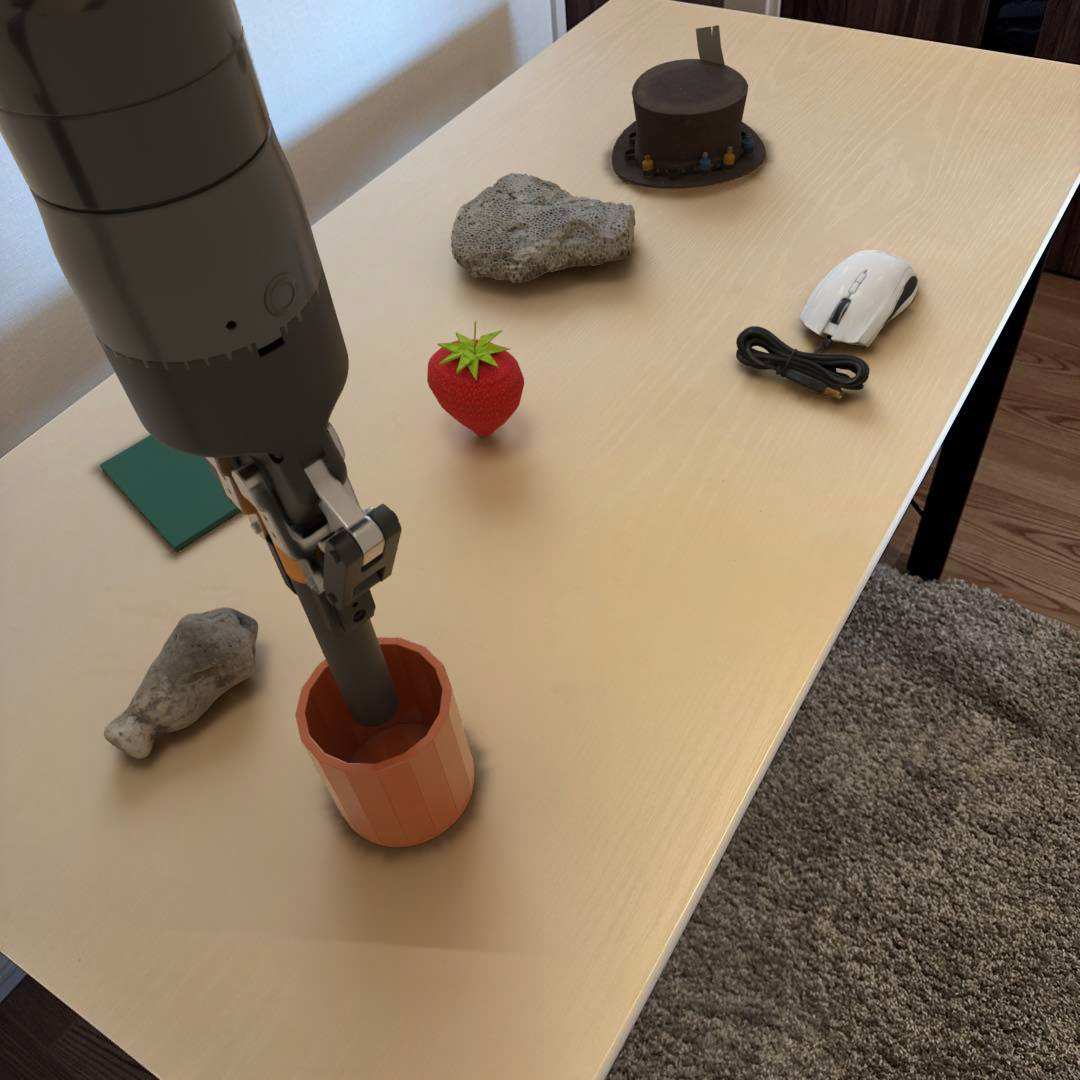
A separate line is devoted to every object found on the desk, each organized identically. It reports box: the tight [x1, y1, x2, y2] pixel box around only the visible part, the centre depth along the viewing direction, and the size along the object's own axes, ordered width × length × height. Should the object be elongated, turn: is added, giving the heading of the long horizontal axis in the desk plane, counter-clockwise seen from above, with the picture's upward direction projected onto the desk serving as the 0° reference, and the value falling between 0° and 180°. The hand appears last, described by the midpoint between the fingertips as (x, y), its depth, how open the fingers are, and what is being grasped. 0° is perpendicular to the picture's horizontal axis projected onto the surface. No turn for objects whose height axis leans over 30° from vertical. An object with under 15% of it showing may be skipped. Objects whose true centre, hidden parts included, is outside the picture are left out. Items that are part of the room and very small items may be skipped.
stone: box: [103, 606, 259, 759], centre depth 62 cm, size 10×5×8 cm
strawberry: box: [426, 320, 525, 437], centre depth 74 cm, size 6×8×10 cm
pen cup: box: [295, 636, 475, 848], centre depth 56 cm, size 8×8×9 cm
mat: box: [99, 434, 242, 552], centre depth 78 cm, size 12×12×1 cm
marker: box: [273, 542, 399, 727], centre depth 47 cm, size 3×3×14 cm
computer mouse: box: [735, 249, 919, 400], centre depth 80 cm, size 10×18×4 cm, turn 144°
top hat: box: [611, 24, 767, 190], centre depth 96 cm, size 15×15×10 cm
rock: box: [450, 172, 636, 284], centre depth 90 cm, size 15×16×5 cm
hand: (332, 600), depth 46 cm, fingers closed on marker, 2 cm apart
